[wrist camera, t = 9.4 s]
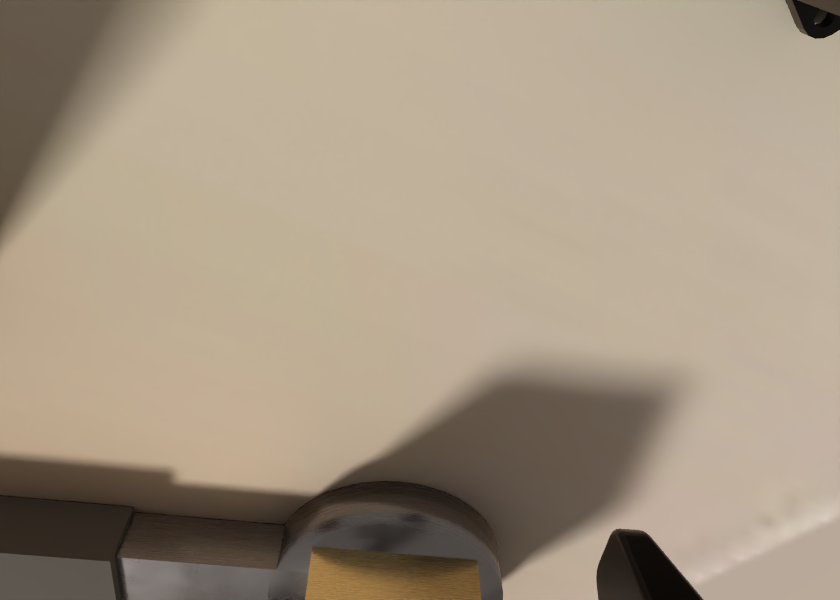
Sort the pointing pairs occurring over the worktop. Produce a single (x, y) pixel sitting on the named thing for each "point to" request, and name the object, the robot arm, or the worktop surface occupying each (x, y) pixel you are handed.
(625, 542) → the robot arm
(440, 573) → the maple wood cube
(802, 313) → the worktop surface
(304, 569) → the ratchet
